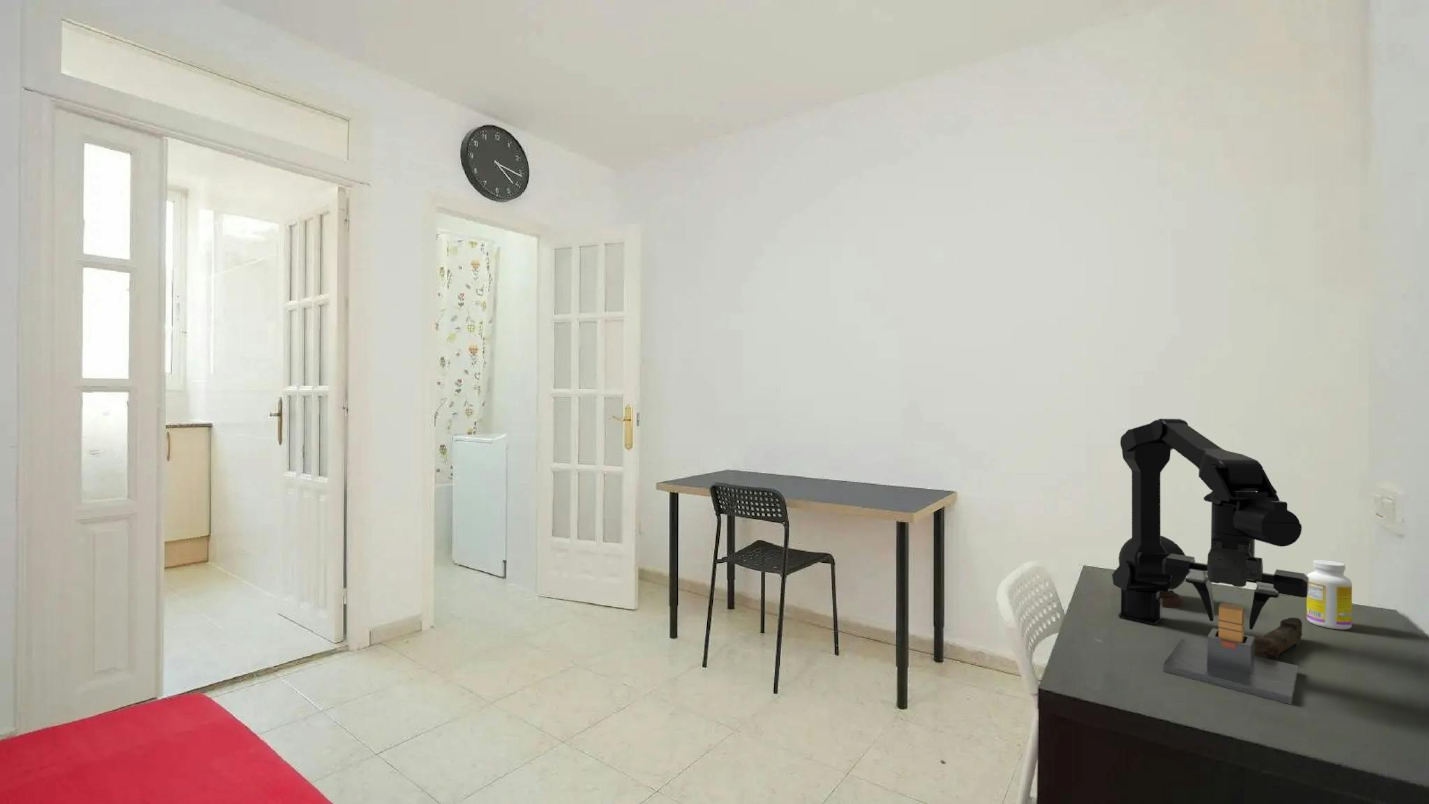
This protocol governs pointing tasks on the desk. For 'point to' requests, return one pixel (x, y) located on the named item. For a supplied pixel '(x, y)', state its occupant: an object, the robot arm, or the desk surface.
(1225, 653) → the jack stand base
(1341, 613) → the supplement bottle
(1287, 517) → the robot arm
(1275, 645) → the rusty railroad spike
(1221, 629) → the column
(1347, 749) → the desk surface
